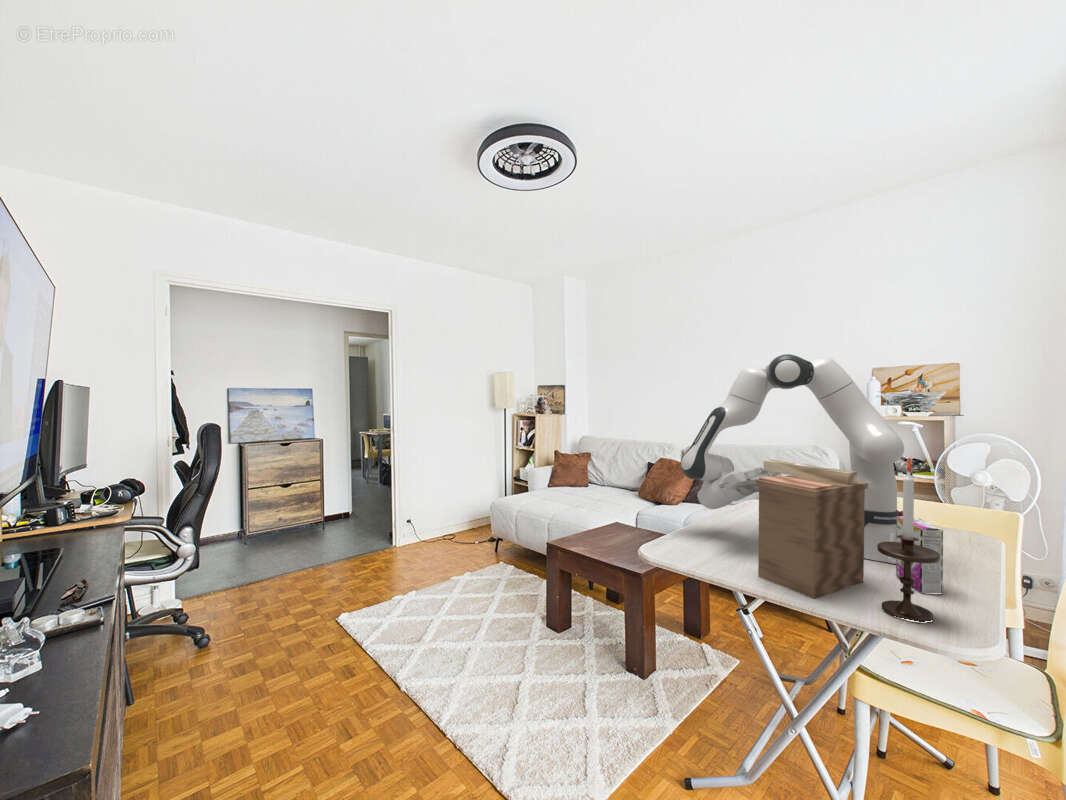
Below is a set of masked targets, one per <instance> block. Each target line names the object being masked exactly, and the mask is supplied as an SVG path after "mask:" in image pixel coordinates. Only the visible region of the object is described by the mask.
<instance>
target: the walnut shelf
mask: <svg viewBox="0 0 1066 800" xmlns="http://www.w3.org/2000/svg"><path fill="white" fill-rule="evenodd" d="M756 486H759V492H758V550H757V551H758V555H757V556H758V559H757V560H758V561H757V562H758V564H757V565H758V570H757V572H758V573H757V574H758V576H757V577H758V578H761V579H764V580H766V581H769V582H771V583H773V582H774V584H777V585H778V584H779V586H781V585H782V586H781V587H783V586H784V588H786V587H787V588H786V589H788V588H789V589H788V590H791V589H792V590H791V591H793V590H794V591H793V592H795V593H798V592H799V594H801V595H803V594H804V596H806V597H808V596H809V597H808V598H810V597H811V599H814V600H815V599H817V598H820V597H823V596H826V595H830V594H832V593H835V592H838V591H841V589H842V590H845V589H847V587H848V588H850V586H851V587H853V585H854V586H857V585H860V584H862V583H864V582H865V581H864V579H865V578H864V577H865V576H864V575H865V573H864V570H865V566H864V565H865V563H864V562H865V558H864V504H865V489H868V483H865V482H859V481H857V483H856V484H850V485H846V484H840V483H834V482H828V481H822V480H817V479H811V478H805V477H799V476H793V475H782V476H779V475H777V476H769V477H761V478H759V480H756ZM859 583H860V584H859ZM856 584H857V585H856ZM844 588H845V589H844Z"/></svg>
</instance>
